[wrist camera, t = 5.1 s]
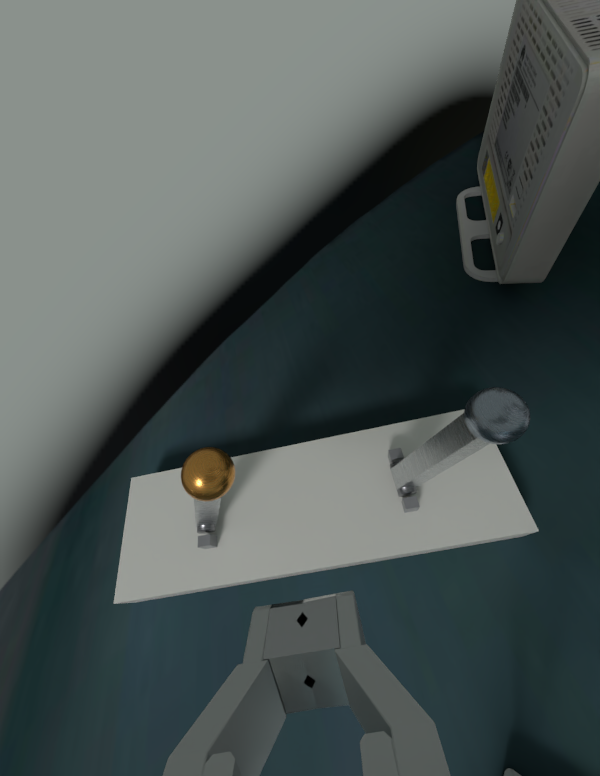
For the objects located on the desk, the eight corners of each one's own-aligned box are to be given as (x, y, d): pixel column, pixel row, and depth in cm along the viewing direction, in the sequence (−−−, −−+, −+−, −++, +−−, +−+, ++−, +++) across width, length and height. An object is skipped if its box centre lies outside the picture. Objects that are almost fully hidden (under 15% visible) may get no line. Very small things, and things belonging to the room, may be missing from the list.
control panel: (469, 421, 31) (482, 398, 27) (522, 536, 25) (547, 528, 22) (149, 486, 33) (121, 473, 30) (137, 602, 28) (101, 604, 24)
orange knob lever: (188, 500, 28) (181, 439, 18) (224, 498, 29) (236, 437, 19) (186, 539, 26) (177, 494, 16) (225, 535, 27) (238, 490, 17)
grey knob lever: (376, 464, 26) (479, 375, 17) (409, 462, 27) (525, 376, 17) (386, 502, 25) (508, 428, 15) (421, 499, 26) (557, 427, 16)
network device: (556, 301, 36) (719, 47, 19) (467, 303, 38) (543, 75, 21) (517, 173, 48) (595, -49, 31) (453, 180, 50) (493, -25, 33)
